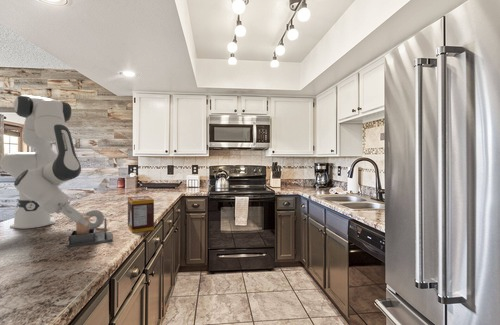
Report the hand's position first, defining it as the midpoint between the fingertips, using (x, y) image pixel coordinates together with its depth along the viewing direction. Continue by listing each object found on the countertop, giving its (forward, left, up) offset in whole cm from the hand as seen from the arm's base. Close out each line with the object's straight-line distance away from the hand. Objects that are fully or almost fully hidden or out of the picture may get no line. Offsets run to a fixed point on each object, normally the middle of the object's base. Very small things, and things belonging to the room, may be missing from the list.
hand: (84, 222), depth 113 cm
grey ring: (-20, +2, -8) cm, 22 cm away
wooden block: (0, -1, -7) cm, 7 cm away
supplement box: (-11, +24, -8) cm, 28 cm away
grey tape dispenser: (0, +2, -8) cm, 8 cm away
